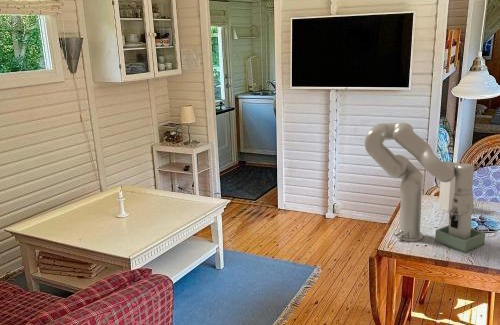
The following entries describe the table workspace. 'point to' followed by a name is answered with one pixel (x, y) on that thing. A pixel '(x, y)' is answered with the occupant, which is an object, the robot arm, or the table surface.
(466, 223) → the skincare box
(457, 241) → the tote
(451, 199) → the milk
